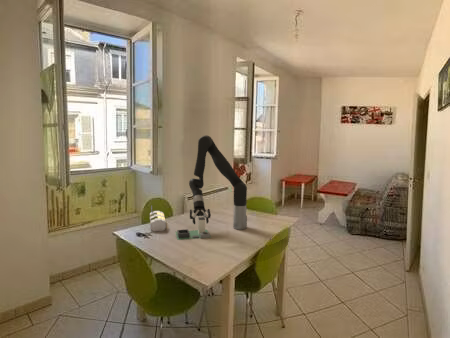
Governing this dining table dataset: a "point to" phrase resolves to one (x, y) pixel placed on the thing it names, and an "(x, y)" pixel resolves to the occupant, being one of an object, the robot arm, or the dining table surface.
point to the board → (191, 234)
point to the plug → (201, 225)
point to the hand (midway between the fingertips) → (201, 223)
